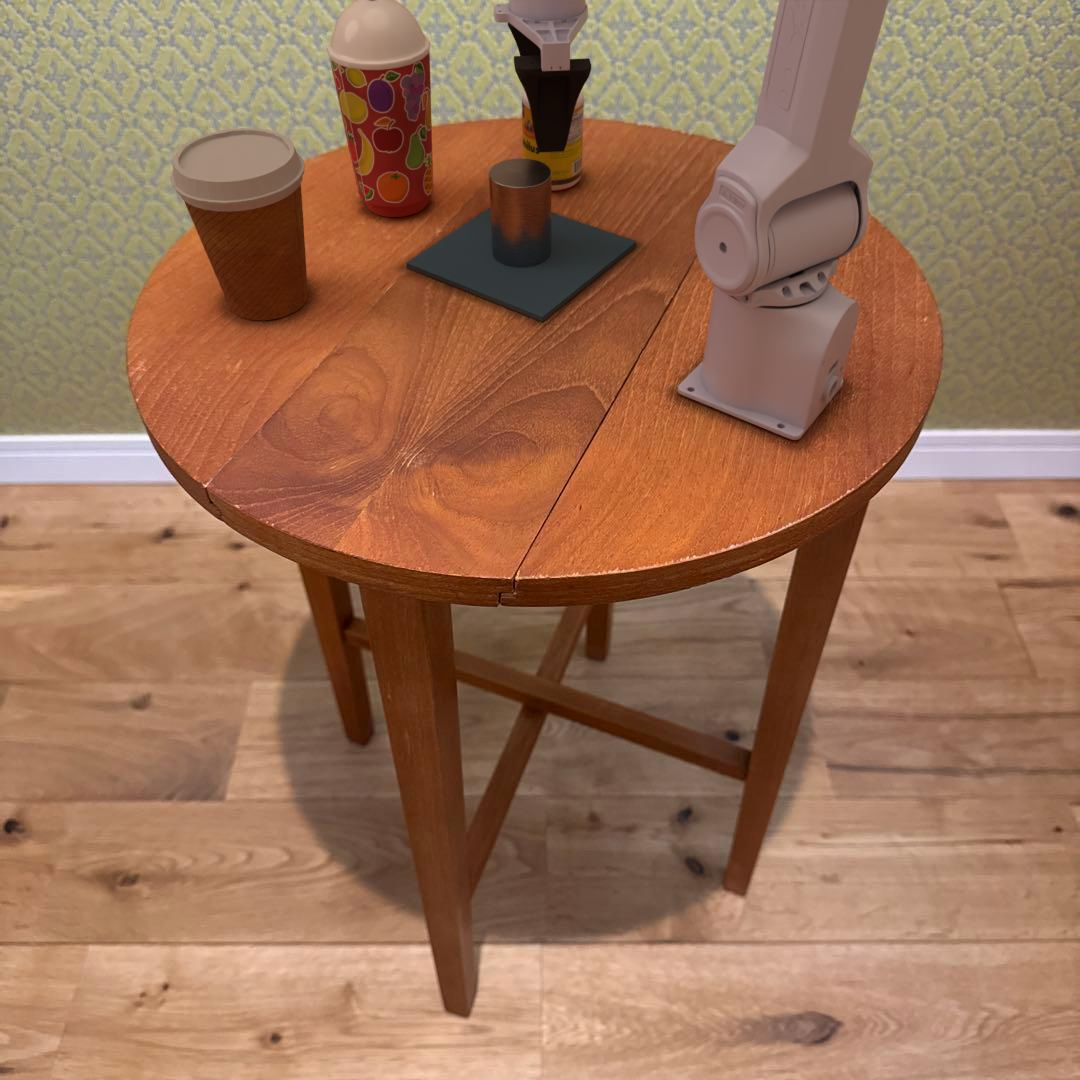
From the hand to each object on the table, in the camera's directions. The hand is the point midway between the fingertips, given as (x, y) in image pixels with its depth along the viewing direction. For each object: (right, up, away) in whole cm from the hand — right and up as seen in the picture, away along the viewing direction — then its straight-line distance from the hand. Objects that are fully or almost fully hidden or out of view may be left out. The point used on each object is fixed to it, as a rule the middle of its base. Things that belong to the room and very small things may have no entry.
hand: (547, 129), depth 79 cm
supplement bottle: (+1, +1, +13) cm, 13 cm away
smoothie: (-14, -3, +10) cm, 17 cm away
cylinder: (-2, -9, +3) cm, 10 cm away
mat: (-2, -9, +3) cm, 10 cm away
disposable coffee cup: (-23, -14, -1) cm, 27 cm away
